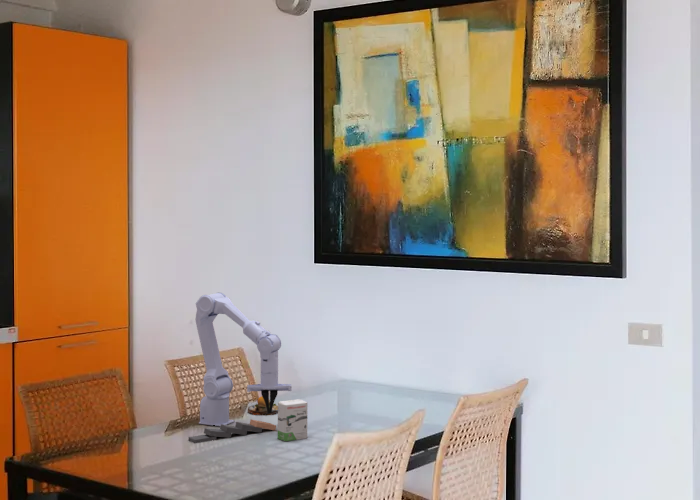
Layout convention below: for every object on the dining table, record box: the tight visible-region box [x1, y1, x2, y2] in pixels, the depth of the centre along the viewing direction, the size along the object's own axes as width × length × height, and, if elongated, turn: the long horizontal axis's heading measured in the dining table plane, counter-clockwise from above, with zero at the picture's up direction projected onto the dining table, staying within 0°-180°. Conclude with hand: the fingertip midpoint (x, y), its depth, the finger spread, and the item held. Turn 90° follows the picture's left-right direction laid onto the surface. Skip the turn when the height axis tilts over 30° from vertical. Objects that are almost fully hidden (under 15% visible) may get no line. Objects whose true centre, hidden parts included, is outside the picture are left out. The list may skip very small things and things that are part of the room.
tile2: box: [235, 421, 263, 434], centre depth 305 cm, size 2×4×8 cm
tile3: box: [219, 424, 248, 436], centre depth 302 cm, size 2×4×8 cm
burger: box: [247, 395, 278, 417], centre depth 336 cm, size 12×12×8 cm
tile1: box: [249, 418, 277, 431], centre depth 309 cm, size 2×4×8 cm
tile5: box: [188, 433, 217, 444], centre depth 296 cm, size 2×4×8 cm
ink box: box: [277, 398, 308, 442], centre depth 299 cm, size 9×5×12 cm, turn 123°
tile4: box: [203, 427, 233, 439], centre depth 299 cm, size 2×4×8 cm
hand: (269, 412), depth 310 cm, fingers closed
